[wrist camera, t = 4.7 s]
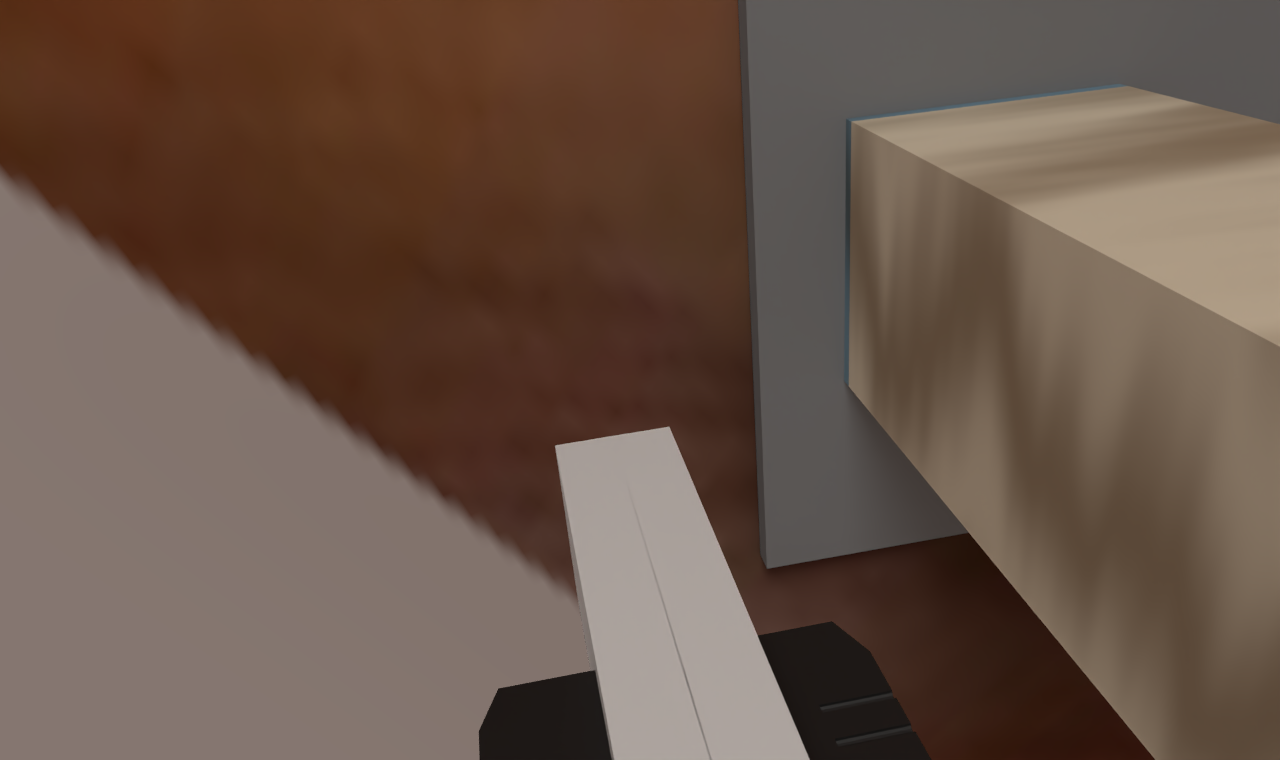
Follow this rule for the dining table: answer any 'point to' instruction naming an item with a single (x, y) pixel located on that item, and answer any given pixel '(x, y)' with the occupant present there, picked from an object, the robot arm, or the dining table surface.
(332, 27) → the dining table surface
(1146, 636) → the beech block
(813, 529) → the rubber mat
